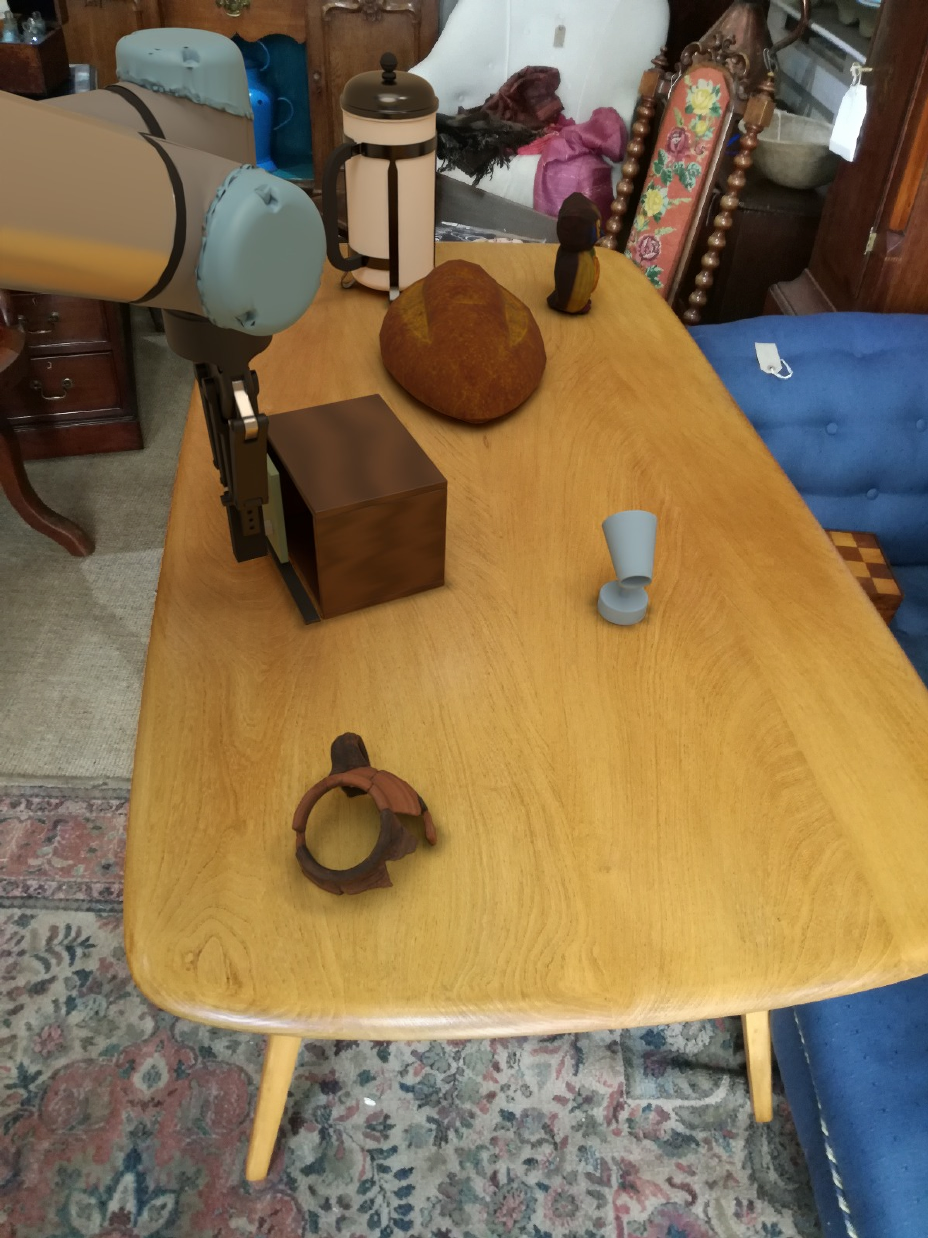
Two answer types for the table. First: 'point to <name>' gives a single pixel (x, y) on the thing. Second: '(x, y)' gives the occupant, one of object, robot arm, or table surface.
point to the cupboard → (356, 507)
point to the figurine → (576, 254)
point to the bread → (463, 343)
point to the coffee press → (385, 179)
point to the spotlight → (628, 565)
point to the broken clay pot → (390, 799)
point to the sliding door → (275, 514)
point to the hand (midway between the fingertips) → (250, 554)
